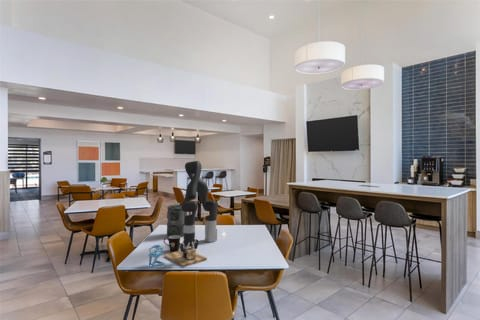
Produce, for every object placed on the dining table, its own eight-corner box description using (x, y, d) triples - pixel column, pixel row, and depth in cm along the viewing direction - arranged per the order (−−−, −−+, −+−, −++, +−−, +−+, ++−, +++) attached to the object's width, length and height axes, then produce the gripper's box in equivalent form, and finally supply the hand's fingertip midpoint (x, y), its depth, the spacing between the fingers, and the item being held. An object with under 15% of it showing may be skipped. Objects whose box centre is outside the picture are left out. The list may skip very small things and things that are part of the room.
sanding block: (188, 255, 184) (188, 246, 184) (195, 258, 177) (195, 249, 177) (181, 256, 180) (181, 248, 180) (189, 260, 174) (189, 251, 174)
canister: (181, 238, 227) (181, 205, 227) (163, 237, 230) (164, 204, 230) (187, 233, 243) (188, 202, 243) (171, 232, 245) (171, 201, 245)
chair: (146, 265, 169) (146, 246, 169) (156, 261, 176) (157, 243, 176) (154, 268, 165) (154, 249, 165) (164, 264, 172) (165, 245, 172)
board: (186, 250, 197) (186, 248, 197) (206, 259, 180) (206, 257, 180) (164, 256, 184) (164, 254, 184) (183, 267, 167) (183, 264, 167)
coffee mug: (182, 250, 199) (182, 236, 199) (174, 253, 191) (174, 239, 191) (171, 247, 205) (171, 234, 205) (162, 250, 197) (162, 236, 197)
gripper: (195, 228, 186) (194, 252, 186) (176, 232, 176) (176, 257, 177) (201, 230, 181) (201, 255, 181) (182, 234, 171) (182, 261, 171)
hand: (188, 256), depth 179 cm, fingers closed on sanding block, 5 cm apart
